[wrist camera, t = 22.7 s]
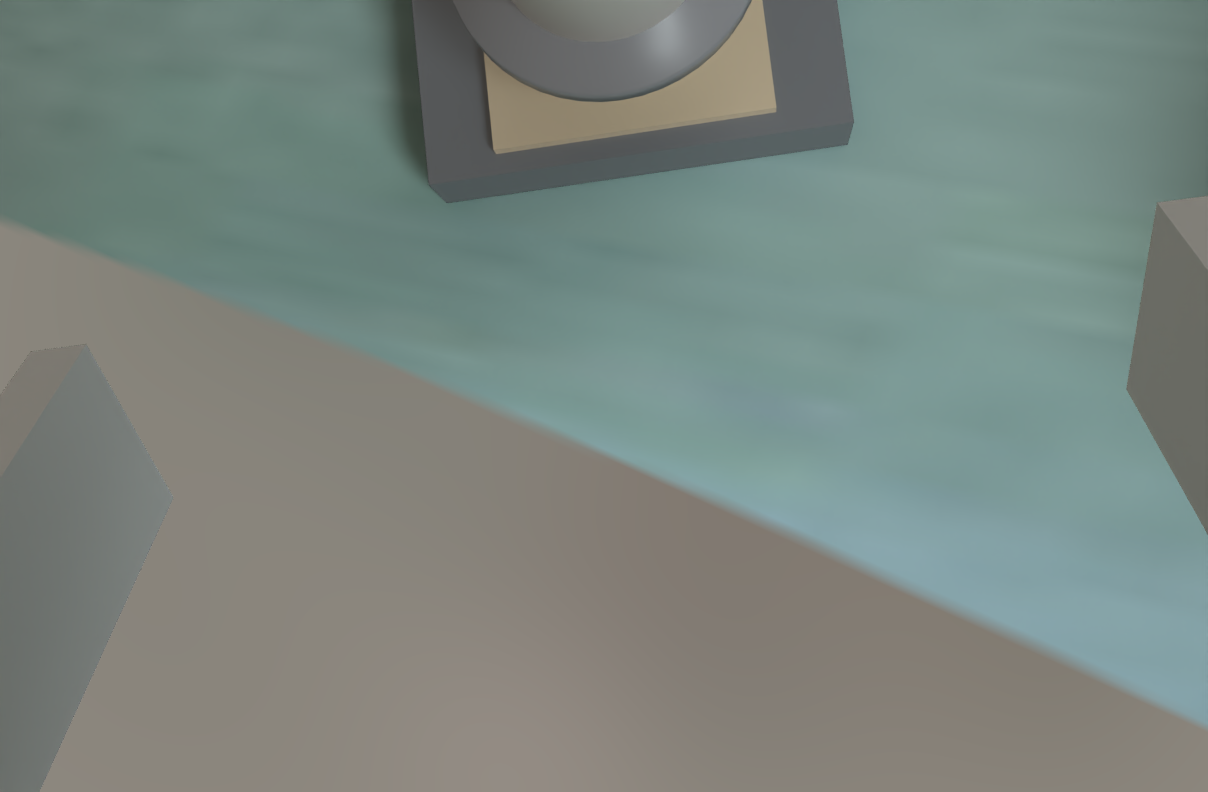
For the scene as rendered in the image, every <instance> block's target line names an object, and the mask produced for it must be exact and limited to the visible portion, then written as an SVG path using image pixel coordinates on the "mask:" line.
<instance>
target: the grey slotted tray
mask: <svg viewBox="0 0 1208 792" xmlns="http://www.w3.org/2000/svg"><path fill="white" fill-rule="evenodd" d="M412 10H413V21H414V32H415V42H416V53H417V64H418V75H419V85H420V96H421V107H422V117H423V128H424V139H425V150H426V160H427V171H428V182H429V186H430V187H431V188H432V189H433V190H434V191H435V192H436V193H437V194H438V195H439V196H440V197H441V198H442V199H443V200H444V201H445V202H446V203H451V202H458V201H465V200H471V199H478V198H485V197H492V196H499V195H506V194H513V193H519V192H526V191H533V190H540V189H547V188H554V187H561V186H567V185H574V184H581V183H588V182H595V181H602V180H609V179H615V178H622V177H629V176H636V175H643V174H650V173H657V172H663V171H670V170H677V169H684V168H691V167H698V166H705V165H712V164H718V163H725V162H732V161H739V160H746V159H753V158H760V157H766V156H773V155H780V154H787V153H794V152H801V151H808V150H814V149H821V148H828V147H835V146H842V145H848V141H849V138H850V134H851V131H852V127H853V123H854V119H853V112H852V105H851V98H850V91H849V83H848V76H847V69H846V62H845V55H844V48H843V40H842V33H841V26H840V19H839V12H838V4H837V0H752V1H751V3H750V5H749V7H748V9H747V11H746V13H745V15H744V17H743V19H742V20H741V22H740V23H739V25H738V26H737V28H736V29H735V31H734V32H733V33H732V35H731V36H730V38H729V39H728V40H727V41H726V42H725V43H724V44H723V45H722V47H721V48H720V49H719V50H718V51H717V52H716V53H715V54H714V55H713V56H712V57H711V58H709V59H708V60H707V61H706V62H705V63H704V64H702V65H701V66H700V67H699V68H697V69H696V70H694V71H693V72H691V73H690V74H688V75H687V76H685V77H684V78H682V79H681V80H679V81H677V82H675V83H673V84H671V85H669V86H667V87H665V88H663V89H660V90H657V91H654V92H651V93H649V94H646V95H643V96H639V97H634V98H630V99H625V100H619V101H608V102H584V101H575V100H569V99H563V98H559V97H555V96H552V95H549V94H546V93H542V92H540V91H537V90H535V89H533V88H531V87H529V86H527V85H525V84H522V83H521V82H519V81H518V80H516V79H515V78H513V77H512V76H510V75H508V74H507V73H505V72H504V71H503V70H502V69H501V68H500V67H498V66H497V65H496V64H495V63H494V62H493V61H491V60H490V58H489V57H488V56H487V55H486V54H485V53H484V52H483V50H482V49H481V48H480V47H479V46H478V45H477V43H476V41H475V40H474V38H473V37H472V35H471V34H470V32H469V31H468V29H467V28H466V26H465V24H464V22H463V21H462V19H461V17H460V15H459V13H458V10H457V8H456V6H455V4H454V2H453V0H412Z"/></svg>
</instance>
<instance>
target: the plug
mask: <svg viewBox="0 0 1208 792" xmlns="http://www.w3.org/2000/svg"><path fill="white" fill-rule="evenodd" d="M751 1H752V0H453V2H454V4H455V6H456V8H457V10H458V13H459V15H460V17H461V19H462V21H463V22H464V24H465V26H466V28H467V29H468V31H469V32H470V34H471V35H472V37H473V38H474V40H475V41H476V43H477V45H478V46H479V47H480V48H481V49H482V50H483V52H484V53H485V54H486V55H487V56H488V57H489V58H490V60H491V61H493V62H494V63H495V64H496V65H497V66H498V67H500V68H501V69H502V70H503V71H504V72H505V73H507V74H508V75H510V76H512V77H513V78H515V79H516V80H518V81H519V82H521V83H522V84H525V85H527V86H529V87H531V88H533V89H535V90H537V91H540V92H542V93H546V94H549V95H552V96H555V97H559V98H563V99H569V100H575V101H584V102H608V101H619V100H625V99H630V98H634V97H639V96H643V95H646V94H649V93H651V92H654V91H657V90H660V89H663V88H665V87H667V86H669V85H671V84H673V83H675V82H677V81H679V80H681V79H682V78H684V77H685V76H687V75H688V74H690V73H691V72H693V71H694V70H696V69H697V68H699V67H700V66H701V65H702V64H704V63H705V62H706V61H707V60H708V59H709V58H711V57H712V56H713V55H714V54H715V53H716V52H717V51H718V50H719V49H720V48H721V47H722V45H723V44H724V43H725V42H726V41H727V40H728V39H729V38H730V36H731V35H732V33H733V32H734V31H735V29H736V28H737V26H738V25H739V23H740V22H741V20H742V19H743V17H744V15H745V13H746V11H747V9H748V7H749V5H750V3H751Z"/></svg>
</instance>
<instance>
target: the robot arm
mask: <svg viewBox="0 0 1208 792" xmlns="http://www.w3.org/2000/svg"><path fill="white" fill-rule="evenodd" d="M1126 389H1127V391H1128V393H1129V395H1130V396H1131V398H1132V400H1133V402H1134V403H1135V405H1136V407H1137V409H1138V411H1139V412H1140V414H1141V416H1142V418H1143V420H1144V421H1145V423H1146V425H1147V427H1148V429H1149V430H1150V432H1151V434H1152V436H1153V437H1154V439H1155V441H1156V443H1157V445H1158V446H1159V448H1160V450H1161V452H1162V454H1163V455H1164V457H1165V459H1166V461H1167V462H1168V464H1169V466H1170V468H1171V470H1172V471H1173V473H1174V475H1175V477H1176V479H1177V480H1178V482H1179V484H1180V486H1181V487H1182V489H1183V491H1184V493H1185V495H1186V496H1187V498H1188V500H1189V502H1190V504H1191V505H1192V507H1193V509H1194V511H1195V512H1196V514H1197V516H1198V518H1199V520H1200V521H1201V523H1202V525H1203V527H1204V529H1205V530H1206V532H1207V534H1208V196H1203V197H1195V198H1188V199H1180V200H1173V201H1165V202H1158V203H1157V205H1156V212H1155V218H1154V224H1153V230H1152V236H1151V242H1150V248H1149V254H1148V260H1147V266H1146V273H1145V279H1144V285H1143V291H1142V297H1141V303H1140V309H1139V315H1138V321H1137V327H1136V334H1135V340H1134V346H1133V352H1132V358H1131V364H1130V370H1129V376H1128V382H1127V388H1126ZM172 499H173V496H172V494H171V492H170V491H169V489H168V487H167V485H166V484H165V482H164V480H163V478H162V476H161V475H160V473H159V471H158V469H157V468H156V466H155V464H154V462H153V461H152V459H151V457H150V455H149V454H148V452H147V450H146V448H145V447H144V445H143V443H142V441H141V439H140V438H139V436H138V434H137V433H136V431H135V429H134V427H133V425H132V424H131V422H130V420H129V418H128V417H127V415H126V413H125V412H124V410H123V408H122V406H121V404H120V403H119V401H118V399H117V397H116V396H115V394H114V392H113V390H112V389H111V387H110V385H109V383H108V382H107V380H106V378H105V376H104V374H103V373H102V371H101V369H100V367H99V366H98V364H97V362H96V360H95V359H94V357H93V355H92V353H91V352H90V350H89V348H88V346H87V345H86V344H83V345H76V346H69V347H61V348H53V349H45V350H38V351H31V352H30V354H29V355H28V357H27V358H26V359H25V360H24V362H23V363H22V365H21V366H20V368H19V369H18V371H17V372H16V373H15V375H14V376H13V378H12V379H11V381H10V382H9V383H8V385H7V386H6V388H5V389H4V390H3V392H2V394H1V395H0V792H40V789H41V787H42V785H43V782H44V780H45V778H46V776H47V774H48V772H49V770H50V767H51V765H52V763H53V761H54V759H55V756H56V754H57V752H58V750H59V748H60V745H61V743H62V741H63V739H64V737H65V734H66V732H67V730H68V728H69V726H70V723H71V721H72V719H73V717H74V715H75V712H76V710H77V708H78V706H79V704H80V702H81V699H82V697H83V695H84V693H85V691H86V688H87V686H88V684H89V682H90V680H91V677H92V675H93V673H94V671H95V669H96V666H97V664H98V662H99V660H100V658H101V655H102V653H103V651H104V649H105V647H106V644H107V642H108V640H109V638H110V636H111V633H112V631H113V629H114V627H115V625H116V622H117V620H118V618H119V616H120V614H121V611H122V609H123V607H124V605H125V603H126V601H127V598H128V596H129V594H130V591H131V590H132V587H133V585H134V583H135V581H136V579H137V576H138V574H139V572H140V570H141V567H142V565H143V563H144V561H145V559H146V556H147V554H148V552H149V550H150V547H151V546H152V543H153V541H154V539H155V537H156V535H157V532H158V530H159V528H160V526H161V523H162V521H163V519H164V517H165V515H166V513H167V510H168V508H169V506H170V504H171V502H172Z"/></svg>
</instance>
